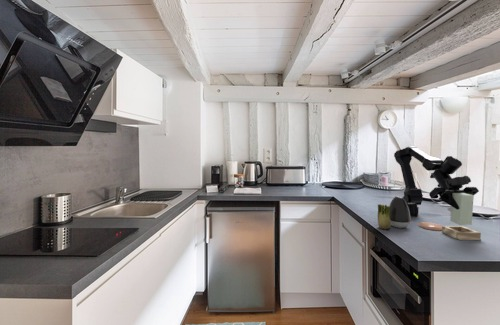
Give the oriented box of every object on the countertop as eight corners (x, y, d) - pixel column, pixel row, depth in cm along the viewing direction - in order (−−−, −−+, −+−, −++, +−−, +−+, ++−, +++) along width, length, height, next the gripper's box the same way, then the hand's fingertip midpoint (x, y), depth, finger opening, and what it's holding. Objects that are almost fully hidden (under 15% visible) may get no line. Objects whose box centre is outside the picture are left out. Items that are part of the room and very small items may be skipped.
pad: (417, 227, 115) (418, 226, 115) (419, 222, 122) (419, 220, 122) (444, 232, 108) (444, 230, 108) (444, 226, 116) (444, 224, 116)
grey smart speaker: (406, 223, 121) (407, 194, 120) (413, 230, 111) (414, 199, 110) (384, 222, 124) (385, 194, 123) (389, 228, 114) (389, 198, 113)
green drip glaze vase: (375, 226, 117) (376, 203, 117) (385, 226, 117) (386, 203, 116) (381, 230, 112) (382, 206, 111) (392, 230, 111) (392, 206, 111)
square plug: (450, 221, 106) (452, 192, 105) (461, 221, 106) (463, 192, 105) (459, 224, 101) (461, 195, 100) (471, 224, 101) (473, 195, 100)
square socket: (442, 232, 108) (442, 225, 108) (461, 231, 108) (461, 225, 108) (459, 240, 99) (459, 233, 99) (480, 239, 99) (480, 232, 99)
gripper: (434, 170, 106) (455, 199, 95) (476, 169, 106) (500, 198, 95) (421, 184, 114) (438, 212, 104) (459, 183, 114) (480, 212, 104)
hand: (464, 208), depth 102 cm, fingers closed on square plug, 5 cm apart
